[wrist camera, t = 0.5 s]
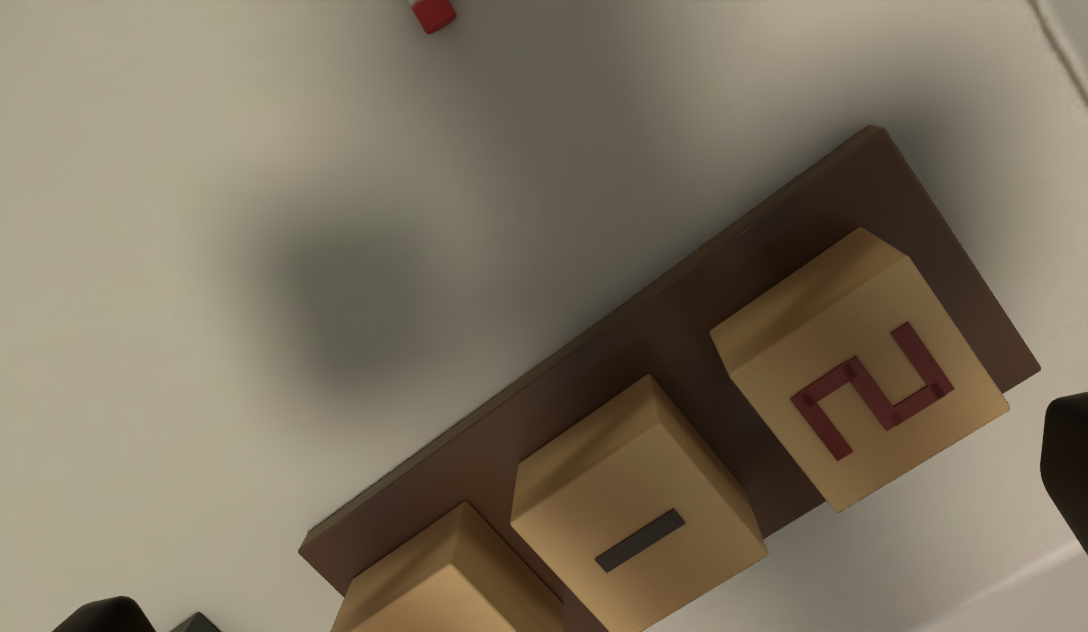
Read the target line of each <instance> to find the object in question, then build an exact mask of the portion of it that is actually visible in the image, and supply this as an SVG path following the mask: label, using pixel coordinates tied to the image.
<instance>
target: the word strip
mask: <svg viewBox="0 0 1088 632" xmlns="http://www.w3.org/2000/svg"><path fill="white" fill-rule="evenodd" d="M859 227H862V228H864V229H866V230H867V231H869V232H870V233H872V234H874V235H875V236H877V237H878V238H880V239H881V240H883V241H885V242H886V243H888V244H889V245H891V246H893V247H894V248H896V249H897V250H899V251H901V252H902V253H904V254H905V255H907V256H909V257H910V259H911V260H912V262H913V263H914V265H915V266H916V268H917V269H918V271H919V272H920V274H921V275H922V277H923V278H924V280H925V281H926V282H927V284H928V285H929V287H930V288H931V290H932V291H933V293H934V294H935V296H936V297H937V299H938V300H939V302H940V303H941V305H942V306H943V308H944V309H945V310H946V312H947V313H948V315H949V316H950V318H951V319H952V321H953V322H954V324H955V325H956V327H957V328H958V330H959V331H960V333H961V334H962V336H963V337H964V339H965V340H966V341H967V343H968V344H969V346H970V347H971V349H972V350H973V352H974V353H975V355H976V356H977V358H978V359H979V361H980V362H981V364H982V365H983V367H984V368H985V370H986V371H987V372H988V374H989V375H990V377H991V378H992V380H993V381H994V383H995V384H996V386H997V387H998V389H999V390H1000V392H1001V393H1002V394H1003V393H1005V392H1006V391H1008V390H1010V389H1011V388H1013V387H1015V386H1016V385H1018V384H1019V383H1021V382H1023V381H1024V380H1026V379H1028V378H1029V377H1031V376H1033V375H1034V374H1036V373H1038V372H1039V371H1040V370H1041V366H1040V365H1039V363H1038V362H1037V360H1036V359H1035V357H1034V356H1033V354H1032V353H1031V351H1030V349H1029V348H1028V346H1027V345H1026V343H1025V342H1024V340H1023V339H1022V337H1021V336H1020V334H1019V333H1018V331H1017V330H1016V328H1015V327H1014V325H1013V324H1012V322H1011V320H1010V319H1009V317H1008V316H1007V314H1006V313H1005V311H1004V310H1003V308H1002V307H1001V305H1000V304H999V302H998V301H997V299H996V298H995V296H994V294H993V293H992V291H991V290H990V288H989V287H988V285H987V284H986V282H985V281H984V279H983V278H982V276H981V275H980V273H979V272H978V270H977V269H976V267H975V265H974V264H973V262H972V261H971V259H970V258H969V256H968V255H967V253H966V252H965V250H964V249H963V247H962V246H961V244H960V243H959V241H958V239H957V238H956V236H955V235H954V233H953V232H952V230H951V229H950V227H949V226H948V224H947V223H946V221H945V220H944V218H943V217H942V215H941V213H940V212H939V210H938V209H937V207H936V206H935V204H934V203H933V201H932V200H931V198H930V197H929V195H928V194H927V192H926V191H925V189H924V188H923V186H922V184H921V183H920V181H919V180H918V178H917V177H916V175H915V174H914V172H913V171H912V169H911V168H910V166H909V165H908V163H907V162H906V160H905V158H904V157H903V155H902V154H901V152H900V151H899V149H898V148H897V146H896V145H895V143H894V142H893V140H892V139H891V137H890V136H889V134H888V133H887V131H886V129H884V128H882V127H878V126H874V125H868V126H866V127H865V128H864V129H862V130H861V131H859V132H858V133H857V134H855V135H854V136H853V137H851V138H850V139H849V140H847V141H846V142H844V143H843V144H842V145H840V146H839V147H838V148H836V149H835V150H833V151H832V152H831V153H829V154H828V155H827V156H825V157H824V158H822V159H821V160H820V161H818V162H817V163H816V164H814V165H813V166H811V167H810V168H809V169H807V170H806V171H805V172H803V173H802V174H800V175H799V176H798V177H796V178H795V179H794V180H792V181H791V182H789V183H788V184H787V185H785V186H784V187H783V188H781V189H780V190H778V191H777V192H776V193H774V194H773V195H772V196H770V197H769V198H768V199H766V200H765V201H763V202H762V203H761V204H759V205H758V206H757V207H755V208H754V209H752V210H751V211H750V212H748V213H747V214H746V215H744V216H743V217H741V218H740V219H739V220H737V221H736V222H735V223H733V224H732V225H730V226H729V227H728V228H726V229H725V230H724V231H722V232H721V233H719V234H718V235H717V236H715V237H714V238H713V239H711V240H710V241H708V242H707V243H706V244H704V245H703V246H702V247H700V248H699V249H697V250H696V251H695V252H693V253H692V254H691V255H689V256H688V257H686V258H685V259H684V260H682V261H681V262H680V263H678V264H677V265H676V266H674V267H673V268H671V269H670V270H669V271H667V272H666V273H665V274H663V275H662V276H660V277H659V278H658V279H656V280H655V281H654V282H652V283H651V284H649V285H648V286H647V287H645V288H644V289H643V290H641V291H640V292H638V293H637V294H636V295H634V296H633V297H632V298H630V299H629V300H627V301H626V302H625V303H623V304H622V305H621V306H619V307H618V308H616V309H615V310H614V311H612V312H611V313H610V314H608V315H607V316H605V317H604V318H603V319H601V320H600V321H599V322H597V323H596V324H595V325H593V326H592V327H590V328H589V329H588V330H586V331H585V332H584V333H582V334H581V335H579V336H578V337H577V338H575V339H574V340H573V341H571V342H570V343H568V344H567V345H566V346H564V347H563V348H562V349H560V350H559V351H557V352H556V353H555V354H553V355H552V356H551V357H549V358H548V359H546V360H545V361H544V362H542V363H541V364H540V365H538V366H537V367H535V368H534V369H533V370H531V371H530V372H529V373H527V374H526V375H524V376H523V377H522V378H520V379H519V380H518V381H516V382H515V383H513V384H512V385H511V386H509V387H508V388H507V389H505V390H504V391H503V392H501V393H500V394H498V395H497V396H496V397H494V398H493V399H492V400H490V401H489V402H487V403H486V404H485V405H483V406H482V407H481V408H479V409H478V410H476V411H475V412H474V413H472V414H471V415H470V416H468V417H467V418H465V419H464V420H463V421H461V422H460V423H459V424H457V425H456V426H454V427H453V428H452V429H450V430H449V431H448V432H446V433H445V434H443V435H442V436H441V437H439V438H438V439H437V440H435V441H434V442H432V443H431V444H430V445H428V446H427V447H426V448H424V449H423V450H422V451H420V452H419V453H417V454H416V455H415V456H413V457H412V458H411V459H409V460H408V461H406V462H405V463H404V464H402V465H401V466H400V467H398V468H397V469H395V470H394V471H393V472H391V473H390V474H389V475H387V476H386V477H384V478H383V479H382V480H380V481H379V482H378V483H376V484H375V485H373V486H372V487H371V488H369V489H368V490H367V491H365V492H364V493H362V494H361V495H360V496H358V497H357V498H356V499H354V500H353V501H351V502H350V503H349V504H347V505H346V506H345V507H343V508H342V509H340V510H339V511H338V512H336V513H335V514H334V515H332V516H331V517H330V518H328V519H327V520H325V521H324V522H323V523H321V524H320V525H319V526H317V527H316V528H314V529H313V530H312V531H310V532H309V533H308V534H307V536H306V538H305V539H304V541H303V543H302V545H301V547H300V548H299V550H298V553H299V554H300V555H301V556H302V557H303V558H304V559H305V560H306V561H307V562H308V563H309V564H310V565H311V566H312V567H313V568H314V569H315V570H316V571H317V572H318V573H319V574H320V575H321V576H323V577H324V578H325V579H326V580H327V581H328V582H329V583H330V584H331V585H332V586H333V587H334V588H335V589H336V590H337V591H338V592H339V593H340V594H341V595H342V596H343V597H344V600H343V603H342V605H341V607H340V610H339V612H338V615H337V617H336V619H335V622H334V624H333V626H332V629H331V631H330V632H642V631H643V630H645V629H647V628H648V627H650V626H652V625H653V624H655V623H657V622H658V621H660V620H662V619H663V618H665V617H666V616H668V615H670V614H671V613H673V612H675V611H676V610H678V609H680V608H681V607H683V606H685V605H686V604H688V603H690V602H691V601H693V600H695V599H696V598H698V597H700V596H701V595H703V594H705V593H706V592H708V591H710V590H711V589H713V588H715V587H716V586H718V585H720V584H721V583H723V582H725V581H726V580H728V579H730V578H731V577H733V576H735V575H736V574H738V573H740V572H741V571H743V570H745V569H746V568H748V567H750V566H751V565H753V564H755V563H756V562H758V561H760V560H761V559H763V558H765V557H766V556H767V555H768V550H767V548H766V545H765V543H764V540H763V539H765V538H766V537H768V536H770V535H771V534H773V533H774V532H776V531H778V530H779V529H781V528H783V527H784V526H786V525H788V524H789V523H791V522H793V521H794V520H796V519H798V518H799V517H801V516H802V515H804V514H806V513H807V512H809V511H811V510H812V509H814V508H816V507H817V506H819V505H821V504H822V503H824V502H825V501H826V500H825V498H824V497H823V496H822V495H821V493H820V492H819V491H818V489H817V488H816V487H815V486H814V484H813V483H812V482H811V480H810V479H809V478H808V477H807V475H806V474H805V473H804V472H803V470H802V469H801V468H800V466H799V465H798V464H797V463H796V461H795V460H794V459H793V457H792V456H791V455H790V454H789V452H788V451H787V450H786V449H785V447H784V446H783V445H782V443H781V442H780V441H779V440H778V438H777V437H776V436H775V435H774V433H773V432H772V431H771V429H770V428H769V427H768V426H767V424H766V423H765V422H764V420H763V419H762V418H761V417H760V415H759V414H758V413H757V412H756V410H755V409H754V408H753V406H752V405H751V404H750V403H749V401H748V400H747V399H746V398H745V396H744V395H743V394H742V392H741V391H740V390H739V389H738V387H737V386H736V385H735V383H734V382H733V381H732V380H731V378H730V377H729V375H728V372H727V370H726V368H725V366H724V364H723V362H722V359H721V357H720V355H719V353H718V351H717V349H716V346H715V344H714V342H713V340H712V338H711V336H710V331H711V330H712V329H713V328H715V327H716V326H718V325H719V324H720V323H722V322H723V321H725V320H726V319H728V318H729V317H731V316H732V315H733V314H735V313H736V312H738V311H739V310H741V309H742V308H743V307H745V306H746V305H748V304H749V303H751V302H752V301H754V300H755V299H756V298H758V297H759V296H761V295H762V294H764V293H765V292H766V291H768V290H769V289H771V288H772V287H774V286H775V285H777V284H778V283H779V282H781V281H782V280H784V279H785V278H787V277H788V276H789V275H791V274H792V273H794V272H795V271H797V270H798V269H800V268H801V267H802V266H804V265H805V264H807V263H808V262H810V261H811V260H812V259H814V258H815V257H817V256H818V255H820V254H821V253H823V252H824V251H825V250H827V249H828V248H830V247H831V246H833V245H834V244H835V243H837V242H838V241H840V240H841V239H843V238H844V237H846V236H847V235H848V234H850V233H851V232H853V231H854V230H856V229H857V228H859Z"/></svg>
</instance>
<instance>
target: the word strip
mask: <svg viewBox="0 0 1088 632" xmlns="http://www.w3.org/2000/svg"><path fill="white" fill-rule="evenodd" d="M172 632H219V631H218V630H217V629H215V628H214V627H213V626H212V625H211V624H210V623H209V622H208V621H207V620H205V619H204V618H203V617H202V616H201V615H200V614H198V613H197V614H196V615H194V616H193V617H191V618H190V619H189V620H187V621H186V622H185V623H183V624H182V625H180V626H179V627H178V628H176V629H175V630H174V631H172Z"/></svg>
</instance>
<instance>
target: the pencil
mask: <svg viewBox="0 0 1088 632" xmlns="http://www.w3.org/2000/svg"><path fill="white" fill-rule="evenodd" d="M407 1H408V2H409V4H410V6H411V8H412V9H413V11H414V13H415V15H416V16H417V18H418V20H419V22H420V23H421V25H422V27H423V29H424V31H425V32H426V34H431V33H433V32H435V31H437V30H439V29H441V28H443V27H444V26H446V25H448V24H449V23H451V22H452V21H453V20H454V19H456V13H455V11H454V9H453V7H452V6H451V4H450V2H449V0H407Z"/></svg>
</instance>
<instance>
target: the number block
mask: <svg viewBox="0 0 1088 632" xmlns="http://www.w3.org/2000/svg"><path fill="white" fill-rule="evenodd" d="M710 336H711V338H712V340H713V342H714V344H715V346H716V349H717V351H718V353H719V355H720V357H721V359H722V362H723V364H724V366H725V368H726V370H727V372H728V375H729V377H730V378H731V380H732V381H733V382H734V383H735V385H736V386H737V387H738V389H739V390H740V391H741V392H742V394H743V395H744V396H745V398H746V399H747V400H748V401H749V403H750V404H751V405H752V406H753V408H754V409H755V410H756V412H757V413H758V414H759V415H760V417H761V418H762V419H763V420H764V422H765V423H766V424H767V426H768V427H769V428H770V429H771V431H772V432H773V433H774V435H775V436H776V437H777V438H778V440H779V441H780V442H781V443H782V445H783V446H784V447H785V449H786V450H787V451H788V452H789V454H790V455H791V456H792V457H793V459H794V460H795V461H796V463H797V464H798V465H799V466H800V468H801V469H802V470H803V472H804V473H805V474H806V475H807V477H808V478H809V479H810V480H811V482H812V483H813V484H814V486H815V487H816V488H817V489H818V491H819V492H820V493H821V495H822V496H823V497H824V498H825V500H826V501H827V502H828V503H829V505H830V506H831V507H832V509H833V510H834V511H835V512H837V513H839V512H841V511H843V510H844V509H846V508H848V507H849V506H851V505H853V504H854V503H856V502H858V501H859V500H861V499H863V498H864V497H866V496H868V495H869V494H871V493H873V492H874V491H876V490H878V489H879V488H881V487H883V486H884V485H886V484H888V483H889V482H891V481H893V480H894V479H896V478H898V477H899V476H901V475H903V474H904V473H906V472H908V471H909V470H911V469H913V468H914V467H916V466H918V465H919V464H921V463H923V462H924V461H926V460H928V459H929V458H931V457H933V456H934V455H936V454H938V453H939V452H941V451H943V450H944V449H946V448H948V447H949V446H951V445H953V444H954V443H956V442H958V441H959V440H961V439H963V438H964V437H966V436H967V435H969V434H971V433H972V432H974V431H976V430H977V429H979V428H981V427H982V426H984V425H986V424H987V423H989V422H991V421H992V420H994V419H996V418H997V417H999V416H1001V415H1002V414H1004V413H1006V412H1007V411H1009V410H1010V405H1009V403H1008V402H1007V401H1006V399H1005V398H1004V396H1003V395H1002V393H1001V392H1000V390H999V389H998V387H997V386H996V384H995V383H994V381H993V380H992V378H991V377H990V375H989V374H988V372H987V371H986V370H985V368H984V367H983V365H982V364H981V362H980V361H979V359H978V358H977V356H976V355H975V353H974V352H973V350H972V349H971V347H970V346H969V344H968V343H967V341H966V340H965V339H964V337H963V336H962V334H961V333H960V331H959V330H958V328H957V327H956V325H955V324H954V322H953V321H952V319H951V318H950V316H949V315H948V313H947V312H946V310H945V309H944V308H943V306H942V305H941V303H940V302H939V300H938V299H937V297H936V296H935V294H934V293H933V291H932V290H931V288H930V287H929V285H928V284H927V282H926V281H925V280H924V278H923V277H922V275H921V274H920V272H919V271H918V269H917V268H916V266H915V265H914V263H913V262H912V260H911V259H910V257H909V256H907V255H905V254H904V253H902V252H901V251H899V250H897V249H896V248H894V247H893V246H891V245H889V244H888V243H886V242H885V241H883V240H881V239H880V238H878V237H877V236H875V235H874V234H872V233H870V232H869V231H867V230H866V229H864V228H862V227H859V228H857V229H856V230H854V231H853V232H851V233H850V234H848V235H847V236H846V237H844V238H843V239H841V240H840V241H838V242H837V243H835V244H834V245H833V246H831V247H830V248H828V249H827V250H825V251H824V252H823V253H821V254H820V255H818V256H817V257H815V258H814V259H812V260H811V261H810V262H808V263H807V264H805V265H804V266H802V267H801V268H800V269H798V270H797V271H795V272H794V273H792V274H791V275H789V276H788V277H787V278H785V279H784V280H782V281H781V282H779V283H778V284H777V285H775V286H774V287H772V288H771V289H769V290H768V291H766V292H765V293H764V294H762V295H761V296H759V297H758V298H756V299H755V300H754V301H752V302H751V303H749V304H748V305H746V306H745V307H743V308H742V309H741V310H739V311H738V312H736V313H735V314H733V315H732V316H731V317H729V318H728V319H726V320H725V321H723V322H722V323H720V324H719V325H718V326H716V327H715V328H713V329H712V330H711V331H710Z"/></svg>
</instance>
